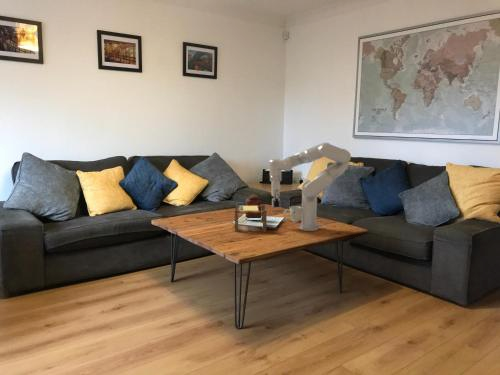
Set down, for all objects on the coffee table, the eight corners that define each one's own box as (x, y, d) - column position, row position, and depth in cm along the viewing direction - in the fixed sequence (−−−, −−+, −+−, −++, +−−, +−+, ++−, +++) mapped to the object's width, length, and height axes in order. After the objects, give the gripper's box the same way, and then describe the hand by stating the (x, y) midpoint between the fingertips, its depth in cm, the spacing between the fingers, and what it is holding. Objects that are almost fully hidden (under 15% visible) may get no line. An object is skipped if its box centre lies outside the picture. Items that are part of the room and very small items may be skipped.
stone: (279, 205, 275) (279, 198, 274) (280, 207, 270) (280, 199, 269) (272, 205, 275) (271, 198, 274) (272, 207, 270) (272, 199, 269)
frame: (264, 223, 285) (264, 204, 283) (266, 231, 265) (266, 210, 263) (235, 223, 284) (235, 204, 282) (234, 231, 264) (234, 210, 262)
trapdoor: (257, 207, 280) (257, 204, 279) (258, 212, 266) (258, 209, 266) (239, 207, 279) (239, 204, 279) (239, 212, 266) (239, 209, 265)
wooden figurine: (262, 219, 298) (262, 194, 295) (261, 221, 291) (261, 196, 289) (245, 218, 299) (246, 193, 297) (244, 220, 293) (244, 195, 290)
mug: (301, 222, 289) (302, 208, 287) (283, 222, 289) (283, 208, 288) (300, 219, 297) (301, 205, 296) (282, 219, 297) (283, 205, 296)
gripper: (268, 176, 278) (269, 203, 281) (270, 180, 261) (271, 208, 264) (280, 176, 278) (280, 203, 281) (282, 180, 261) (283, 208, 264)
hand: (276, 205), depth 273 cm, fingers closed on stone, 5 cm apart
